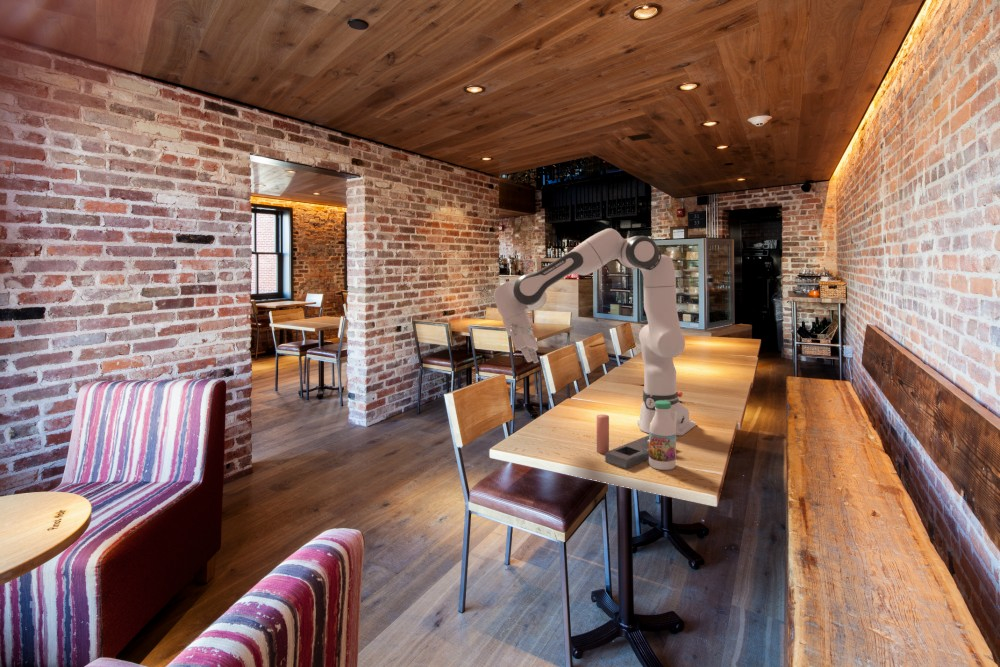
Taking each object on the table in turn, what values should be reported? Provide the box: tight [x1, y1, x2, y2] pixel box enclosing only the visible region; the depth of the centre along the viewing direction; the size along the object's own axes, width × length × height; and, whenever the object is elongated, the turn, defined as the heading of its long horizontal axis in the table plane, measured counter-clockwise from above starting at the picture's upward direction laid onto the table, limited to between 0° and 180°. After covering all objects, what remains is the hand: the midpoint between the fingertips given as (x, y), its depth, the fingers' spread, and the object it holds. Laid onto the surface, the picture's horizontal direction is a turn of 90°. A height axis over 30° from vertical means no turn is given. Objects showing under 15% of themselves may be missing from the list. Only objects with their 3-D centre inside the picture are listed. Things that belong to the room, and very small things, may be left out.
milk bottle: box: [648, 400, 677, 471], centre depth 148 cm, size 8×8×20 cm
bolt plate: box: [604, 422, 651, 470], centre depth 157 cm, size 25×8×9 cm, turn 128°
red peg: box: [596, 414, 610, 455], centre depth 161 cm, size 4×4×12 cm
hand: (533, 362), depth 170 cm, fingers open, 8 cm apart
